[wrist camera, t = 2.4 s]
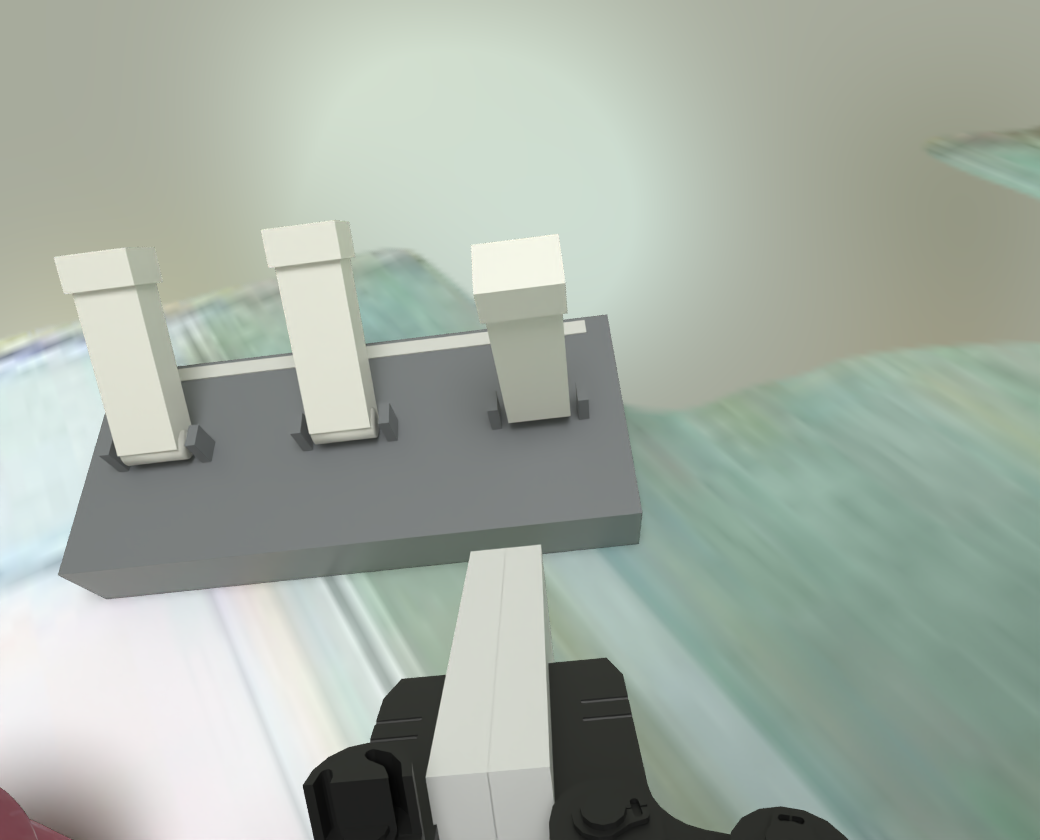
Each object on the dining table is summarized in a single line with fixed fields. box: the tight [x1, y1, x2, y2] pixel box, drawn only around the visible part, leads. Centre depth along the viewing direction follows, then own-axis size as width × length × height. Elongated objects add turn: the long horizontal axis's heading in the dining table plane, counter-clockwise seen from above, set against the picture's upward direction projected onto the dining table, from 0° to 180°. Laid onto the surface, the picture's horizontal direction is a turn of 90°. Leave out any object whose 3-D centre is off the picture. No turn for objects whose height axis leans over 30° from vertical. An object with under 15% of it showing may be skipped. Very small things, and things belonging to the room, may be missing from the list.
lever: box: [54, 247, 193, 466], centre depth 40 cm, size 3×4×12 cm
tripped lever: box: [471, 234, 571, 423], centre depth 36 cm, size 3×4×12 cm
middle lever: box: [261, 220, 379, 444], centre depth 40 cm, size 3×4×12 cm
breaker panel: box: [58, 315, 642, 599], centre depth 43 cm, size 14×33×7 cm, turn 94°
